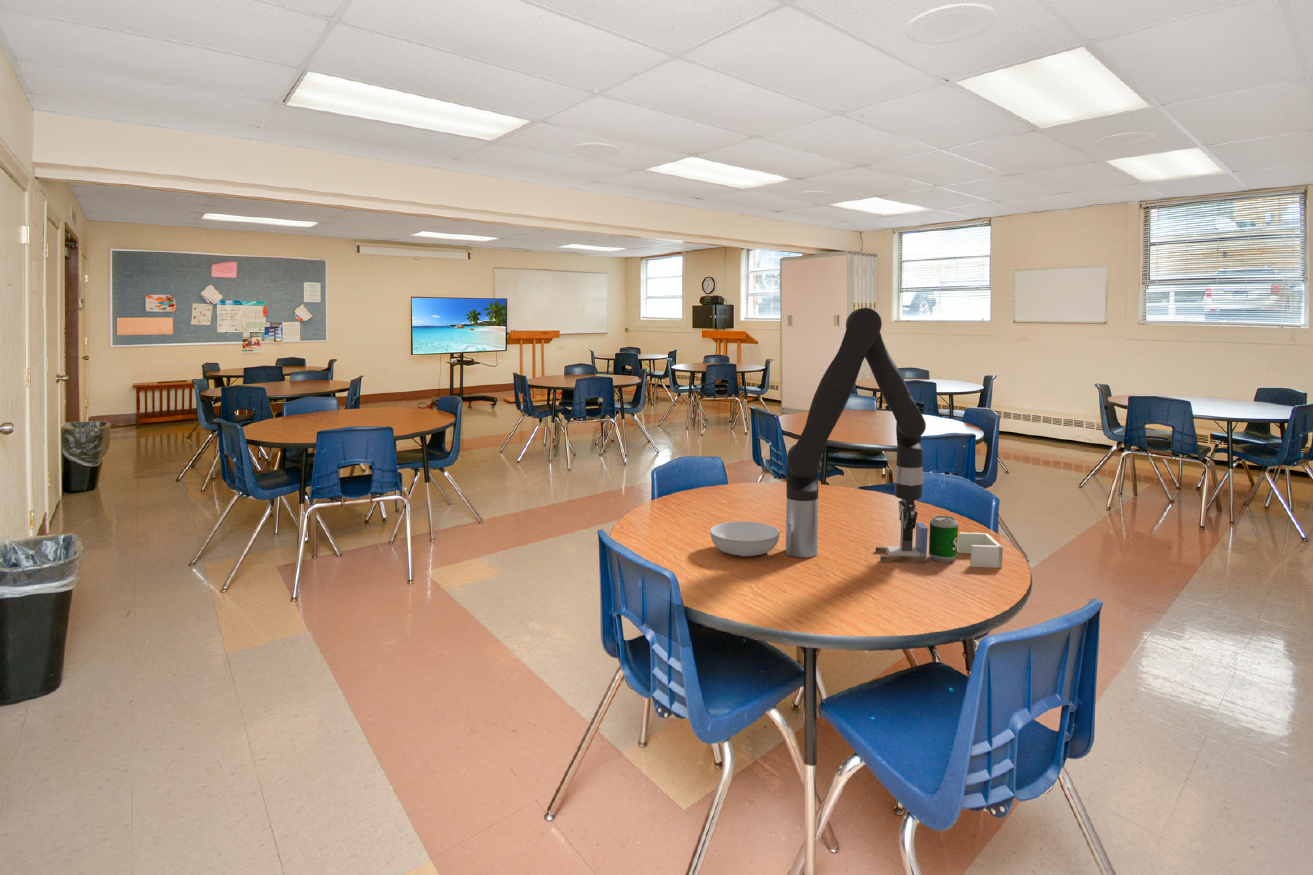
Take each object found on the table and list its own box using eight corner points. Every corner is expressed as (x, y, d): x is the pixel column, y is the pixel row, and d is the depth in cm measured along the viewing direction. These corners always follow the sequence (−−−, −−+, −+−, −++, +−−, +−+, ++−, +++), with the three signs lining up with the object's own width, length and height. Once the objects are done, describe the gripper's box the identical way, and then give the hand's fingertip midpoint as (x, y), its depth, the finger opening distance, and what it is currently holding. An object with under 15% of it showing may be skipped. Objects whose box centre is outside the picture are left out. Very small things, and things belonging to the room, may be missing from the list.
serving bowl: (778, 565, 191) (778, 542, 190) (706, 561, 196) (705, 539, 194) (780, 542, 211) (780, 521, 210) (714, 540, 216) (714, 519, 215)
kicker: (890, 558, 193) (891, 518, 191) (886, 552, 199) (887, 513, 197) (926, 559, 192) (928, 519, 190) (921, 553, 197) (923, 513, 196)
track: (880, 561, 192) (880, 556, 192) (875, 551, 201) (875, 546, 201) (924, 562, 190) (924, 557, 190) (917, 552, 199) (917, 547, 199)
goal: (971, 566, 187) (972, 546, 186) (957, 551, 199) (958, 532, 198) (1001, 567, 185) (1003, 546, 184) (986, 552, 198) (987, 533, 197)
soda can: (948, 564, 189) (950, 523, 187) (923, 558, 194) (925, 518, 192) (961, 558, 193) (963, 518, 191) (936, 552, 199) (938, 513, 197)
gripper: (890, 475, 199) (888, 531, 202) (900, 486, 186) (897, 546, 188) (916, 476, 198) (914, 532, 201) (928, 486, 184) (925, 547, 187)
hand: (906, 538), depth 194 cm, fingers closed on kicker, 3 cm apart
